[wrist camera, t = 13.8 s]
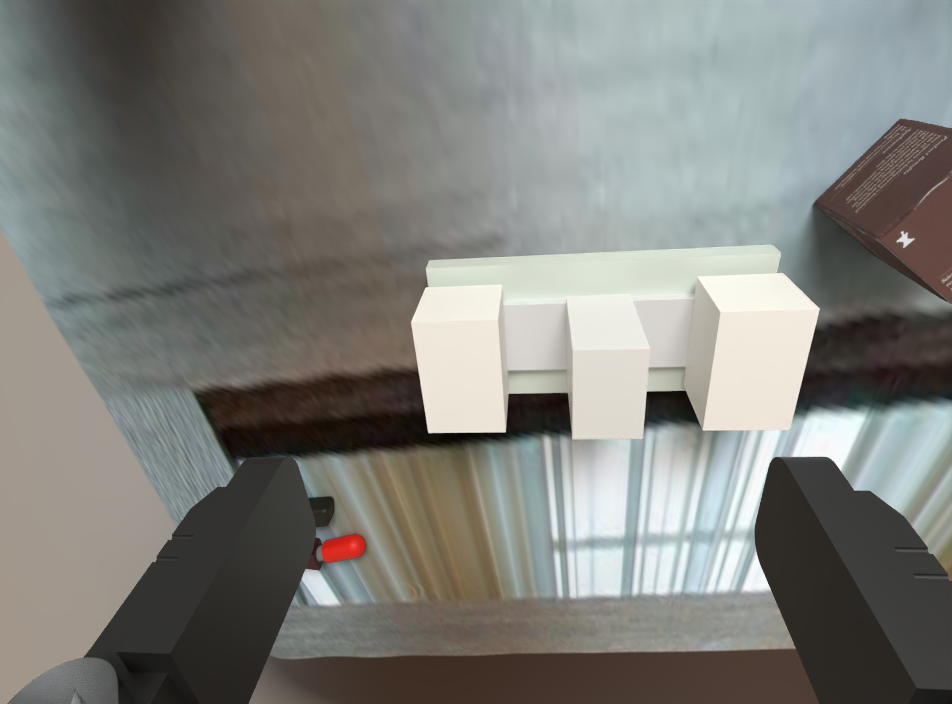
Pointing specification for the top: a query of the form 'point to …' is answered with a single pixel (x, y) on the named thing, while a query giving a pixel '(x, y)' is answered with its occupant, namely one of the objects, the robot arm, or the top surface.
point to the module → (606, 367)
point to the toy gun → (333, 547)
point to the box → (902, 203)
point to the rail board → (661, 315)
